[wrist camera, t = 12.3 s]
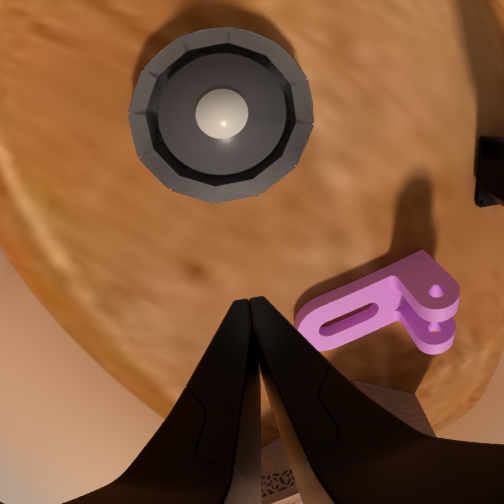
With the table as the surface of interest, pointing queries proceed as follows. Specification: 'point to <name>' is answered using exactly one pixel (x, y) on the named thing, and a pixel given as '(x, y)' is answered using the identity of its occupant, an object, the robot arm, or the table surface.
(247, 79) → the cap
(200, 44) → the shallow metal dish
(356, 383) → the tissue box cover
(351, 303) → the bracket
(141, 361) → the table surface
